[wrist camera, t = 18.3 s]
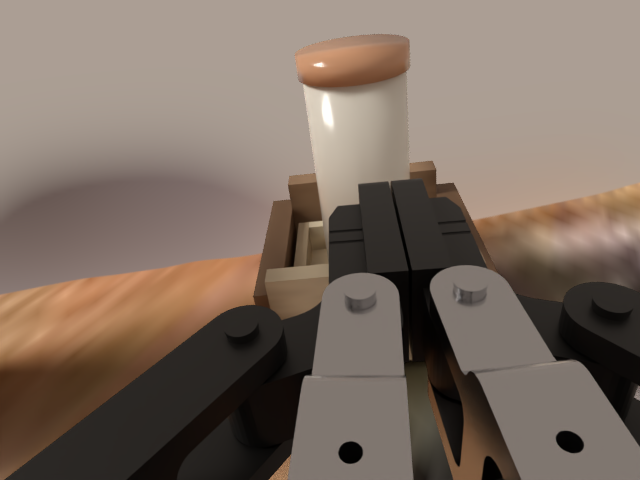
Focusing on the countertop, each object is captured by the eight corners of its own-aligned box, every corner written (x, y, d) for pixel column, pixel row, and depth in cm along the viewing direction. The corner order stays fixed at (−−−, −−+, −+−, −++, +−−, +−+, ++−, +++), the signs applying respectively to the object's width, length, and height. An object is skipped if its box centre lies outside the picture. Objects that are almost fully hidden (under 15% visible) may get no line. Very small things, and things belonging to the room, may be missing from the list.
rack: (268, 358, 31) (246, 268, 28) (283, 253, 42) (269, 178, 38) (493, 340, 30) (501, 244, 27) (452, 238, 40) (454, 158, 37)
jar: (328, 317, 31) (290, 67, 23) (329, 264, 36) (298, 43, 28) (423, 309, 30) (417, 51, 22) (410, 256, 35) (401, 29, 27)
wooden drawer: (284, 369, 30) (264, 282, 26) (295, 264, 39) (282, 189, 36) (480, 354, 29) (485, 262, 25) (443, 250, 38) (443, 172, 35)
